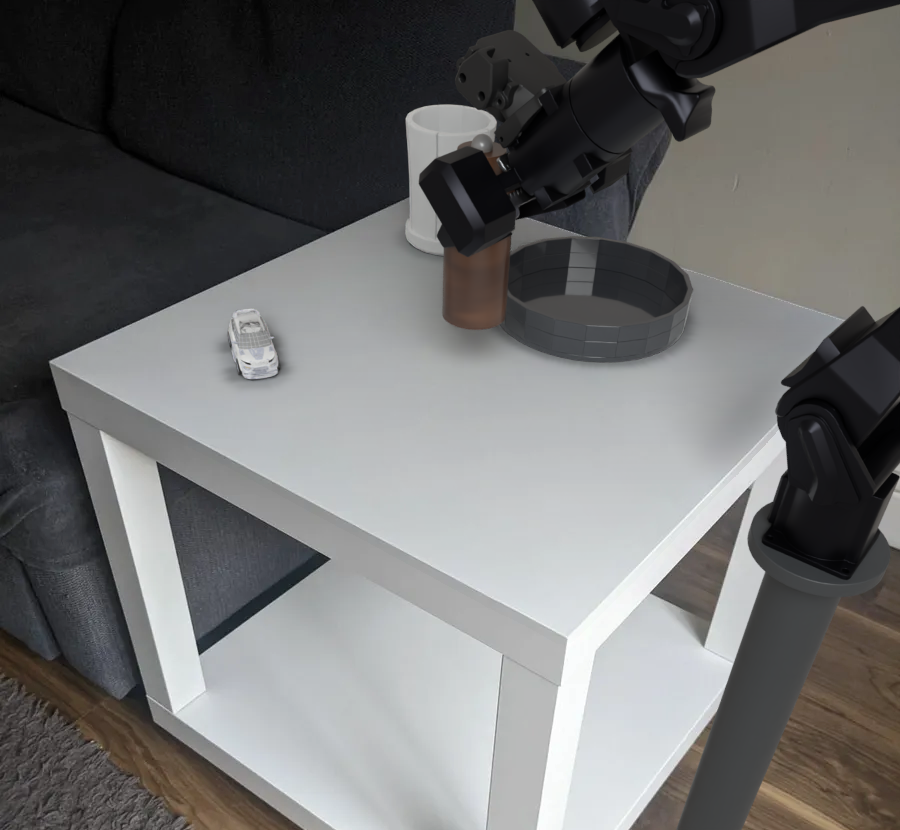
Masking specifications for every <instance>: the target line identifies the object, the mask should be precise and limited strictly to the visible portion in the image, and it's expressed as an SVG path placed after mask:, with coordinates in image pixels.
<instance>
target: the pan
mask: <svg viewBox="0 0 900 830" xmlns="http://www.w3.org/2000/svg"><path fill="white" fill-rule="evenodd" d="M693 293H694V287H693V285H692V281H691V279H690V276H689V274H688V273H687V272H686V271H685V270H684V269H683V268H682V267H681V266H680V265H678V263H676V261H674V260H673V259H671V258H669V257H666V256H665V255H663V254H661V253H659V252H658V251H656V250H654V249H650V248H648V247H644V246H641V245H638V244H635V243H632V242H629V241H624V240H619V239H618V240H617V239H612V238H607V237H601V236H578V235H569V236H558V237H557V236H556V237H549V238H547V237H546V238H542V239H539V240H535V241H532V242H527V243H525V244H520V245H519V246H518V247H516V248H514V249H513V250H511V251H510V264H509V278H508V292H507V306H506V317H505V320H504V321H503V322H502V323H501V324H500V325H499V326H500V327H501V328H502V329H503V331H505V332H506V333H507V334H508V335H509V336H511V337H512V338H514V339H515V340H516V341H518V342H520V343H522V344H523V345H525V346H527V347H529V348H531V349H534V350H535V351H539V352H542V353H544V354H548V355H551V356H555V357H559V358H563V359H568V360H572V361H581V362H582V361H583V362H588V363H589V362H592V363H620V362H629V361H634V360H640V359H644V358H648V357H651V356H655V355H658V354H660V353H662V352H664V351H665V350H667V349H669V348H670V347H672V346H673V345H674V344H675V343H677V341H679V339H680V338H681V336H682V335H683V333H684V330H685V327H686V323H687V320H688V317H689V312H690V307H691V303H692V298H693Z"/></svg>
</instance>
